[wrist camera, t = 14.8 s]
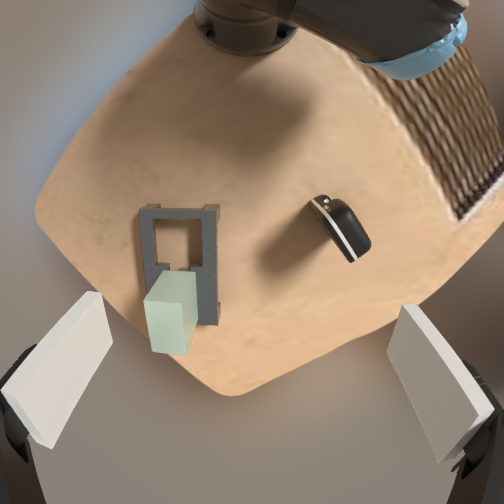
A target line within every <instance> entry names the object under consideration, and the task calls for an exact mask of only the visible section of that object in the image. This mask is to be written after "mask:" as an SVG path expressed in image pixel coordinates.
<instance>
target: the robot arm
mask: <svg viewBox="0 0 504 504" xmlns="http://www.w3.org/2000/svg"><path fill="white" fill-rule="evenodd" d="M468 5H469V1H468V0H196V2H195V6H194V20H195V23H196V26H197V28H198V30H199V32H200V33H201V35H202V36H203V38H204V39H205V40H206V41H207V42H208V43H209V44H210V45H212V46H213V47H215V48H216V49H218V50H220V51H223V52H225V53H229V54H233V55H238V56H256V55H262V54H266V53H270V52H272V51H275V50H277V49H279V48H281V47H282V46H284V45H285V44H286V43H288V42H289V41H290V40H291V39H292V38H293V36H294V35H295V34H296V32H297V30H298V28H299V27H300V28H302V29H304V30H306V31H308V32H310V33H312V34H314V35H316V36H318V37H320V38H322V39H324V40H326V41H328V42H330V43H332V44H334V45H335V46H337V47H339V48H341V49H343V50H344V51H346V52H348V53H350V54H351V55H353V56H355V57H356V59H357V60H358V61H359V62H361V63H362V64H365V65H368V66H371V67H373V68H374V69H376V70H378V71H379V72H381V73H383V74H384V75H386V76H388V77H389V78H392V79H398V80H412V79H416V78H419V77H422V76H424V75H426V74H428V73H430V72H432V71H433V70H435V69H437V68H438V67H439V66H441V65H442V64H444V63H445V62H446V61H447V60H448V59H449V58H450V57H451V56H452V55H453V54H454V53H455V52H456V48H455V47H457V46H458V45H460V44H462V42H463V40H464V38H465V36H466V32H467V23H466V21H465V19H464V17H463V14H462V12H463V11H464V10H465V9H466V8H467V7H468ZM112 343H113V341H112V337H111V333H110V329H109V325H108V321H107V317H106V313H105V308H104V304H103V299H102V294H101V293H100V292H91V291H87V292H86V293H85V294H84V295H83V296H82V297H81V298H80V299H79V300H78V301H77V302H76V303H75V304H74V305H73V306H72V307H71V308H70V309H69V311H68V312H67V313H66V314H65V315H64V316H63V317H62V318H61V319H60V320H59V321H58V323H57V324H56V325H55V326H54V327H53V328H52V329H51V330H50V331H49V333H48V334H47V335H46V336H45V337H44V338H43V339H42V340H41V341H40V343H39V344H38V345H37V344H34V345H33V346H31V347H30V348H28V349H27V350H25V351H24V352H23V354H22V355H21V356H20V357H19V358H18V360H17V361H16V362H15V363H14V364H13V367H11V368H10V369H9V370H8V371H7V372H6V374H5V375H4V376H3V377H2V379H1V380H0V504H46V501H45V498H44V496H43V492H42V489H41V486H40V483H39V479H38V476H37V472H36V468H35V465H34V461H33V457H32V453H31V448H30V444H29V441H28V440H27V436H28V434H29V433H30V434H31V436H32V437H33V438H34V439H35V441H36V442H37V443H39V444H41V445H44V446H46V447H48V448H50V449H53V447H54V445H55V443H56V441H57V439H58V437H59V435H60V433H61V431H62V429H63V428H64V426H65V424H66V422H67V420H68V418H69V417H70V414H71V413H72V411H73V409H74V407H75V406H76V404H77V402H78V400H79V399H80V397H81V395H82V393H83V392H84V390H85V388H86V386H87V385H88V383H89V381H90V380H91V378H92V376H93V375H94V373H95V371H96V370H97V368H98V366H99V365H100V363H101V361H102V359H103V358H104V356H105V355H106V353H107V351H108V350H109V348H110V346H111V345H112ZM386 354H387V356H388V357H389V360H390V361H391V363H392V365H393V367H394V369H395V371H396V373H397V375H398V377H399V379H400V381H401V383H402V385H403V387H404V389H405V391H406V393H407V395H408V397H409V399H410V402H411V404H412V406H413V408H414V410H415V412H416V414H417V416H418V418H419V420H420V423H421V425H422V427H423V429H424V432H425V434H426V436H427V438H428V440H429V443H430V445H431V448H432V450H433V452H434V455H435V457H436V459H437V462H438V464H440V463H443V462H445V461H448V460H451V459H454V458H455V457H456V456H457V455H458V454H459V452H461V450H462V449H463V450H464V452H465V455H464V457H462V459H461V460H460V461H459V462H458V463H457V464H456V465H455V466H454V467H453V468H452V470H451V471H452V472H454V471H455V470H456V469H457V467H459V470H458V471H457V476H456V479H455V482H454V485H453V488H452V490H451V493H450V496H449V498H448V501H447V504H504V409H502V407H501V405H500V404H499V402H498V401H497V399H496V398H495V396H494V395H493V394H492V392H491V391H490V389H489V388H488V386H487V385H486V384H485V383H484V381H483V379H482V378H481V377H479V376H480V375H479V374H478V373H477V371H476V370H475V369H474V367H472V366H471V365H470V364H469V363H467V362H466V361H465V360H460V359H459V357H458V356H457V355H456V353H455V352H454V351H453V349H452V348H451V347H450V345H449V344H448V343H447V342H446V340H445V339H444V338H443V337H442V335H441V334H440V333H439V331H438V330H437V329H436V328H435V327H434V325H433V324H432V323H431V322H430V320H429V319H428V318H427V317H426V315H425V314H424V313H423V312H422V311H421V309H420V308H419V307H418V306H417V305H416V304H402V306H401V310H400V313H399V316H398V320H397V323H396V326H395V329H394V332H393V335H392V338H391V341H390V344H389V347H388V350H387V352H386Z"/></svg>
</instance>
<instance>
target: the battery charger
mask: <svg viewBox="0 0 504 504" xmlns="http://www.w3.org/2000/svg"><path fill="white" fill-rule="evenodd" d="M308 205H309V207H310V208H311V210H312V211H313V212H314V214H315V215H316V217H317V218H318V220H319V221H320V222H321V224H322V225H323V227H324V228H325V230H326V231H327V233H328V234H329V235H330V237H331V238H332V240H333V241H334V242H335V244H336V245H337V246H338V248H339V249H340V251H341V252H342V253H343V255H344V256H345V257H346V259H347V260H348V261H349V262H350V263H352V262H354V261H357V260H358V258H359V257H361V256H362V255H364V254H365V253H366V252H368V251H369V250H370V248H371V240H370V239H369V237H368V235H367V233H366V232H365V230H364V228H363V227H362V225H361V223H360V222H359V220H358V219H357V217H356V215H355V214H354V212H353V211H352V209H351V208H350V207H349V206H348V205H347V204H346V203H345V202H343V201H342V200H340V199H333V200H331V199H330V198H329V197H328V196H327V195H320V196H318V197H316V198H315V199H312V200H311V201H310V202H309V204H308Z"/></svg>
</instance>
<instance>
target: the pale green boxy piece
mask: <svg viewBox="0 0 504 504" xmlns="http://www.w3.org/2000/svg"><path fill="white" fill-rule="evenodd" d="M143 302H144V308H145V314H146V320H147V326H148V332H149V337H150V342H151V347H152V351H153V352H159V353H167V354H176V355H186V356H187V353H188V350H189V347H190V343H191V340H192V337H193V334H194V330H195V327H196V324H197V321H198V310H197V292H196V272H191V271H190V269H179V270H177V271H168V270H163V272H162V273H161V275H160V276H159V278H158V279H157V281H156V282H155V284H154V285H153V287H152V288H151V290H150V291H149V293H148V294H147V296H146V297H145V299H144V300H143Z"/></svg>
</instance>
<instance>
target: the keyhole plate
mask: <svg viewBox="0 0 504 504" xmlns="http://www.w3.org/2000/svg"><path fill="white" fill-rule="evenodd" d="M159 218H174V219H202V261H203V265H201V264H191V266H190V271H191V272H196V292H197V310H198V321H197V324H202V325H217V326H218V322H219V318H220V302H218V256H217V223H218V221H219V219H220V205H205V207H204V208H203V209H193V208H161V207H160V204H147V205H146V206H144V207H142V208H141V209H139V220H140V234H141V245H142V255H143V265H144V274H145V282H146V290H147V294H148V293H149V291H150V290H151V288H152V287H153V285H154V284H155V282H156V281H157V279H158V278H159V276H160V275H161V273H162V272H163V270H168V271H170V265H169V263H159V262H158V257H157V244H156V230H155V222H156V221H157V220H158V219H159Z"/></svg>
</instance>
